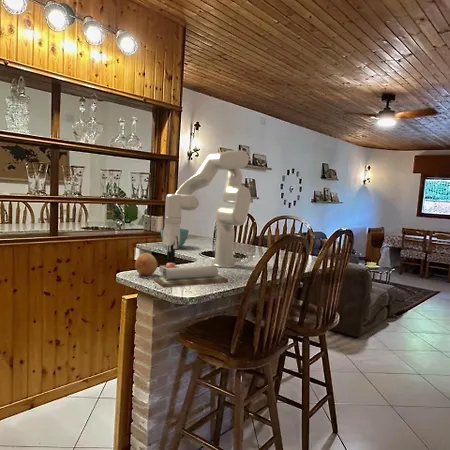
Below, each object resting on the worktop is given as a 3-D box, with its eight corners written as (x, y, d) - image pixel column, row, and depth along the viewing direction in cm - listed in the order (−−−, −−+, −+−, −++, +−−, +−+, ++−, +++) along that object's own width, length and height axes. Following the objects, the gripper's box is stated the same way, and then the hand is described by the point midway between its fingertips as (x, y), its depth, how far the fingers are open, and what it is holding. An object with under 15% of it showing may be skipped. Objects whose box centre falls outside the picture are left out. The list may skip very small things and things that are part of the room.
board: (215, 276, 175) (215, 273, 175) (227, 281, 166) (227, 278, 166) (153, 280, 160) (153, 277, 160) (163, 287, 151) (163, 283, 150)
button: (172, 268, 180) (173, 262, 180) (176, 270, 177) (176, 264, 177) (164, 269, 178) (165, 263, 178) (168, 271, 175) (168, 264, 175)
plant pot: (155, 248, 241) (155, 229, 240) (166, 244, 259) (166, 227, 258) (182, 251, 237) (183, 231, 236) (191, 247, 255) (192, 229, 254)
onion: (158, 277, 165) (159, 255, 164) (134, 278, 163) (135, 255, 162) (156, 272, 175) (157, 251, 174) (134, 272, 172) (134, 251, 171)
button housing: (174, 269, 183) (175, 264, 183) (181, 273, 176) (182, 268, 176) (159, 270, 179) (159, 265, 179) (165, 274, 172) (165, 269, 172)
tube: (214, 266, 171) (161, 268, 159) (219, 264, 167) (166, 266, 154) (215, 277, 170) (162, 281, 158) (220, 276, 166) (167, 280, 153)
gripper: (159, 219, 180) (157, 257, 182) (171, 222, 167) (169, 263, 169) (174, 219, 184) (171, 256, 185) (186, 222, 171) (184, 262, 173)
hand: (170, 259), depth 177 cm, fingers closed
